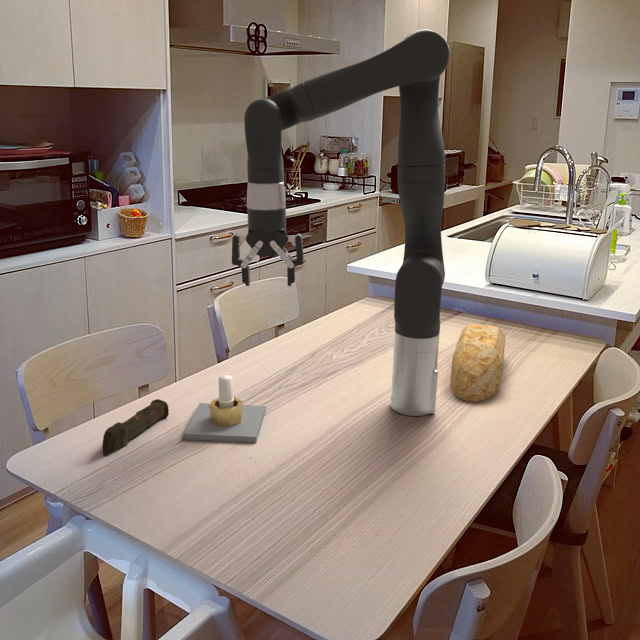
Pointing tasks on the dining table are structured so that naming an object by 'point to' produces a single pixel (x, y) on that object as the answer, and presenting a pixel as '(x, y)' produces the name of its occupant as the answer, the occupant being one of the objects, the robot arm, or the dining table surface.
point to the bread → (477, 362)
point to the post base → (237, 433)
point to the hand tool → (133, 426)
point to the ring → (226, 413)
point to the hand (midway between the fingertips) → (268, 285)
